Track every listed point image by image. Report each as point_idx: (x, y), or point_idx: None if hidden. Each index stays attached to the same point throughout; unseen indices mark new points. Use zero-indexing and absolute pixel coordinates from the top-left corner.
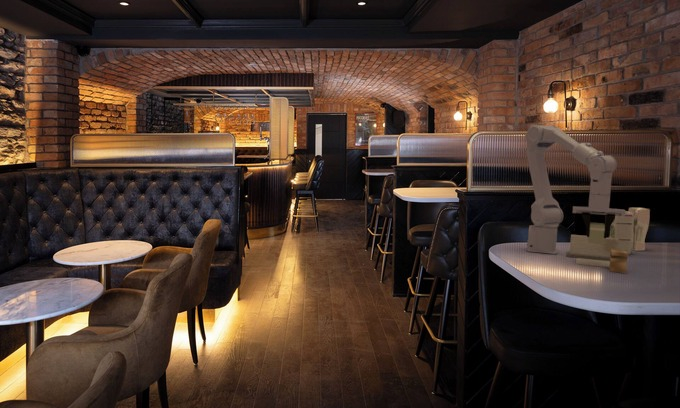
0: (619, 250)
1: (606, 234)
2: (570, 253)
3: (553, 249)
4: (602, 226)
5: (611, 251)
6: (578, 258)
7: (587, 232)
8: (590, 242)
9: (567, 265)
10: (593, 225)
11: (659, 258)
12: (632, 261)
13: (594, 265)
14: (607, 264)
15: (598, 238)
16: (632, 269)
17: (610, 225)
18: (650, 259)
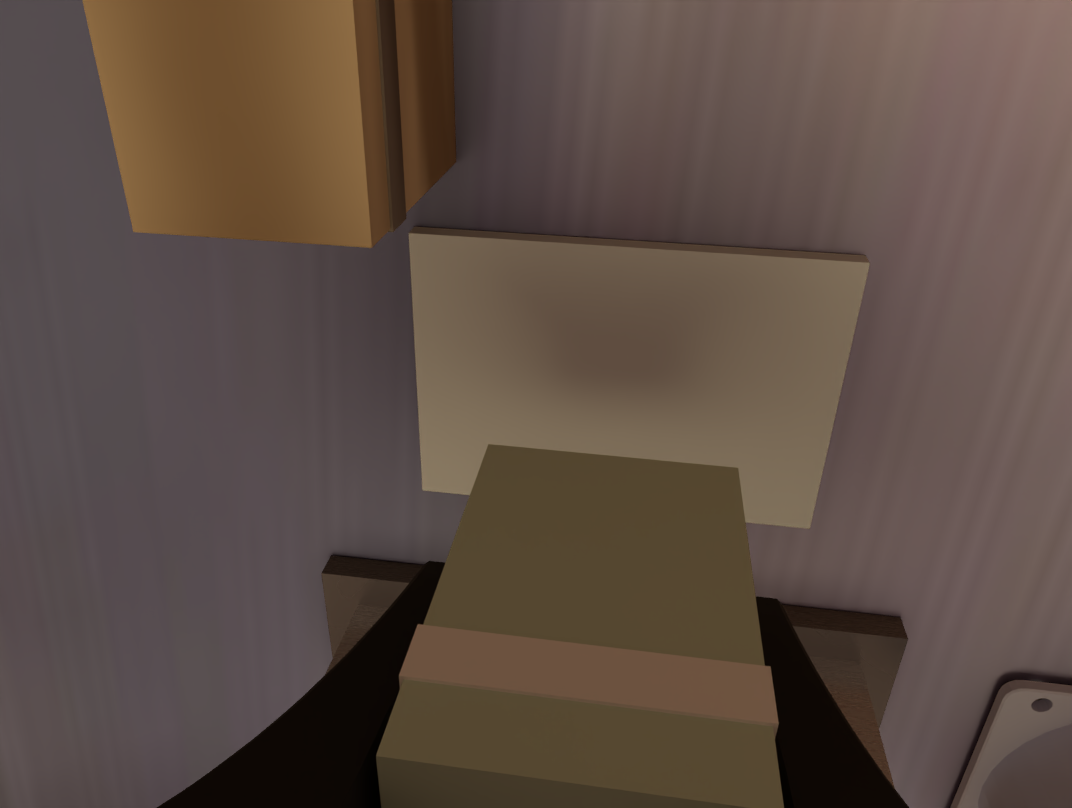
0: (233, 213)
1: (394, 602)
2: (853, 668)
3: (1042, 763)
4: (446, 730)
5: (366, 113)
6: (788, 511)
7: (797, 654)
8: (710, 471)
9: (1043, 95)
10: (690, 770)
11: (50, 790)
12: (229, 627)
13: (632, 244)
14: (467, 313)
15: (564, 517)
16: (199, 251)
17: (231, 757)
18: (103, 741)
